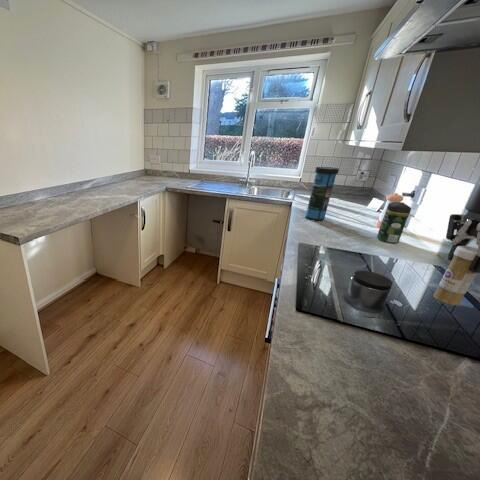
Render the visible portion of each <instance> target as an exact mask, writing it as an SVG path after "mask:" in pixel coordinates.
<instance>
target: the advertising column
mask: <svg viewBox="0 0 480 480" xmlns="http://www.w3.org/2000/svg"><path fill="white" fill-rule="evenodd" d="M339 170H340V168H338V167H332V166H331V167H330V166H316V167H315V170H314V173H315V176H314V179H313V183H312V189H311V191H310V196H309V197H310V198H309V200H308V205H307V209H306V213H305V217H304V218H305V219H306V218H307V219H306V220H308V219H309V220H308V221H311V220H314V221H313V222H319V221H320V222H324V221H325V217H326V214H327V210H328V207H329V203H330V200H331V195H332V192H333V188H334V184H335V181H336V177H337V175H338V174H339ZM323 220H324V221H323Z"/></svg>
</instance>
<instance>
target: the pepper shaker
mask: <svg viewBox="0 0 480 480" xmlns="http://www.w3.org/2000/svg"><path fill="white" fill-rule="evenodd" d="M385 199H386V202H385V204H384V208H383V209H382V211H381V213H380V215H379V218H378V219H377V220H376V223H375V227H377V228H379V229H380V226H381V224H382V221H383V218H384V215H385V212H386V209H387V207H388V204H389V203H392V202H403V201H404V197H403V196H402V195H401V194H399V193H397V192H395V193H392V194H391V193H390V194H388V195H386V196H385Z"/></svg>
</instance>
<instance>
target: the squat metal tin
mask: <svg viewBox="0 0 480 480" xmlns="http://www.w3.org/2000/svg"><path fill="white" fill-rule="evenodd" d="M392 290H393V281H392V280H391V279H390V278H388V277H387V276H385V275H382V274H380V273H377V272H374V271H370V270H356V271H354V272H353V274H352V275H351V277H350V279H349V283H348V285H347V288H346V292H345V294H344V297H343V298H344V301H345V302H346V303H347V305H349V306H350V307H353V308H354V309H356V310H358V311H362V312H364V313H368V314H381V313H382V312H383V311H384V309H385V307H386V305H387V302H388V300H389V297H390V295H391V292H392ZM362 317H364V318H366V316H364V315H363V316H362ZM367 318H369V319H376V318H377V317H376V316H367Z"/></svg>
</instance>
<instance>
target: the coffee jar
mask: <svg viewBox="0 0 480 480" xmlns="http://www.w3.org/2000/svg"><path fill="white" fill-rule="evenodd" d="M411 212H412V207H411V206H409V205H408V204H406V203H405V202H403V201H401V202H392V203H389V204H388V207H387V209H386V212H385V215H384V218H383V221H382V224H381V226H380V228H379V230H378V231H377V235H376V237H377V239H378V240H379V241H381V242H384V243H388V244H398V243H399V242H400V239H401V238H402V234H403V232H404V229H405V226H406V223H407V221H408V218H409V217H410V214H411Z"/></svg>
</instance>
